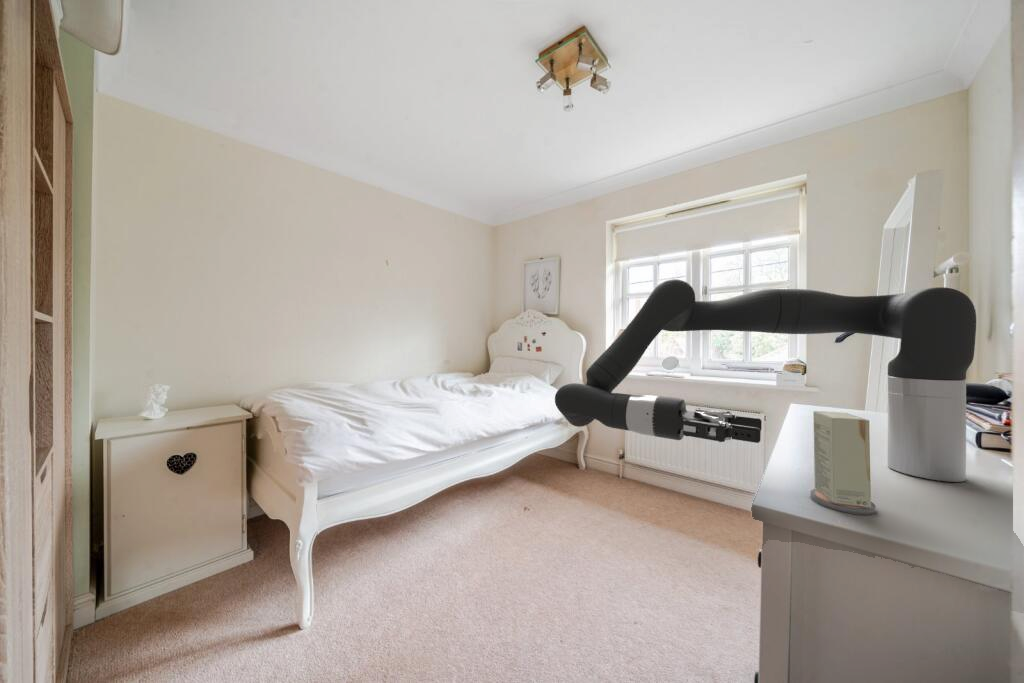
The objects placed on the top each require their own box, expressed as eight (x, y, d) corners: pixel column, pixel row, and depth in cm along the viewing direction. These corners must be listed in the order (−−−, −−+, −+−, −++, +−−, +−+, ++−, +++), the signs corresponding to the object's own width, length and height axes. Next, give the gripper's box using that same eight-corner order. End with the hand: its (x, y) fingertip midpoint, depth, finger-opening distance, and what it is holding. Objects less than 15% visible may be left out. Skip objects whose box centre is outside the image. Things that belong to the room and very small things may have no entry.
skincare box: (872, 509, 48) (872, 420, 48) (832, 504, 50) (832, 417, 50) (847, 491, 54) (847, 411, 54) (812, 486, 56) (812, 409, 56)
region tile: (805, 489, 57) (805, 484, 57) (864, 499, 53) (864, 494, 53) (816, 507, 50) (816, 501, 50) (884, 519, 47) (884, 513, 47)
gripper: (645, 400, 61) (761, 413, 51) (665, 392, 72) (762, 401, 63) (644, 444, 61) (760, 465, 51) (664, 428, 72) (761, 443, 63)
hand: (761, 430), depth 57 cm, fingers open, 8 cm apart
